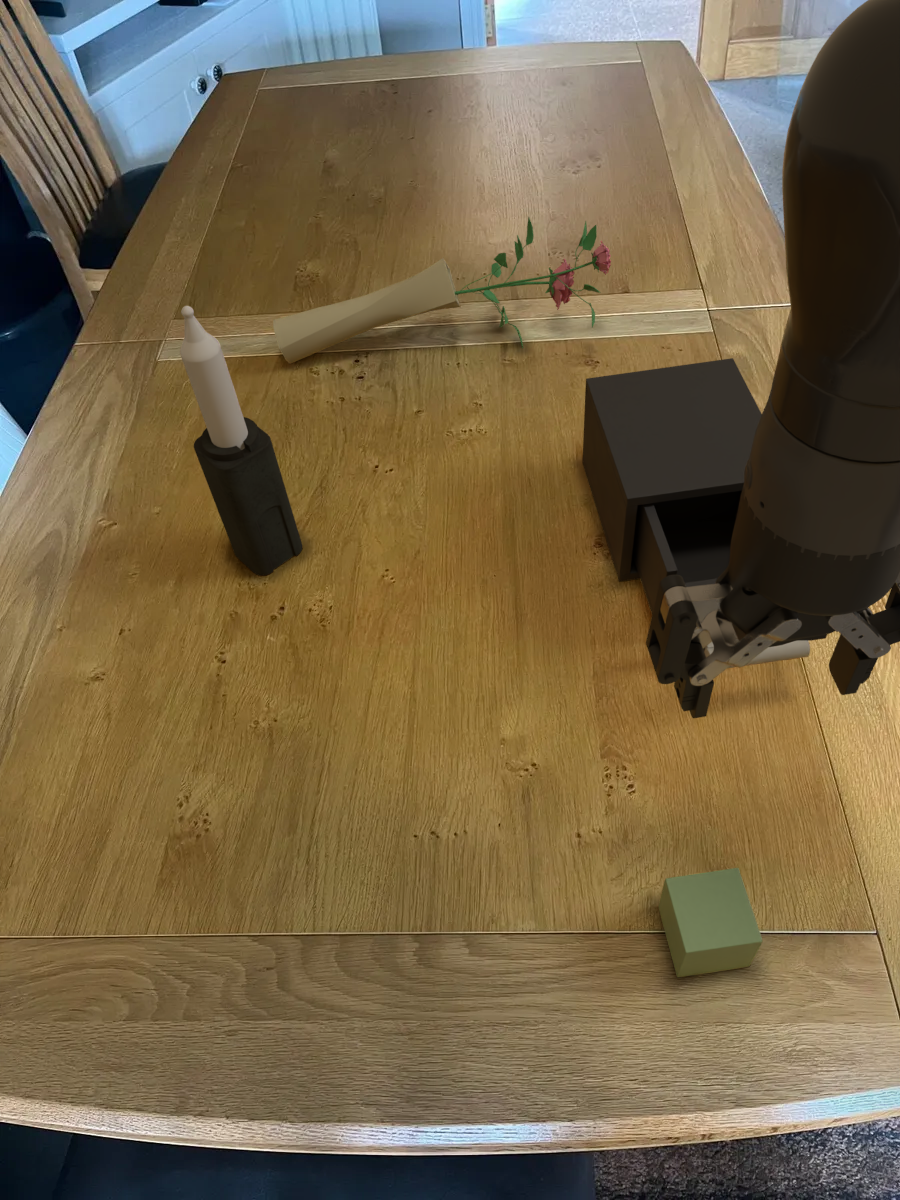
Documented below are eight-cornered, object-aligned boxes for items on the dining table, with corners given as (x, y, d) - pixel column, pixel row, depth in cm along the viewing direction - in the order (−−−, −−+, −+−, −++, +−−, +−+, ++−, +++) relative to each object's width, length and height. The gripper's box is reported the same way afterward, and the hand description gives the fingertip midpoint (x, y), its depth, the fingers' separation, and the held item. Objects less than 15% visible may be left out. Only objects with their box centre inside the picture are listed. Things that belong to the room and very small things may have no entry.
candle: (274, 520, 86) (196, 277, 67) (308, 548, 83) (236, 304, 64) (229, 550, 84) (135, 308, 65) (261, 580, 82) (173, 338, 62)
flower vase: (320, 393, 109) (612, 295, 104) (308, 435, 99) (632, 330, 93) (278, 296, 103) (587, 186, 97) (261, 331, 93) (605, 211, 87)
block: (727, 895, 61) (738, 866, 57) (749, 966, 58) (763, 941, 55) (657, 905, 61) (664, 878, 57) (677, 977, 58) (685, 953, 55)
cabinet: (769, 560, 78) (793, 475, 71) (619, 582, 78) (627, 498, 71) (716, 444, 88) (733, 357, 80) (582, 463, 88) (585, 378, 80)
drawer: (825, 689, 69) (852, 624, 63) (670, 711, 69) (683, 648, 63) (747, 516, 81) (764, 447, 74) (614, 535, 80) (620, 467, 74)
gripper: (699, 576, 38) (662, 770, 51) (1040, 523, 38) (920, 729, 51) (650, 454, 43) (627, 659, 55) (954, 407, 43) (863, 622, 56)
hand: (767, 692), depth 53 cm, fingers open, 8 cm apart
